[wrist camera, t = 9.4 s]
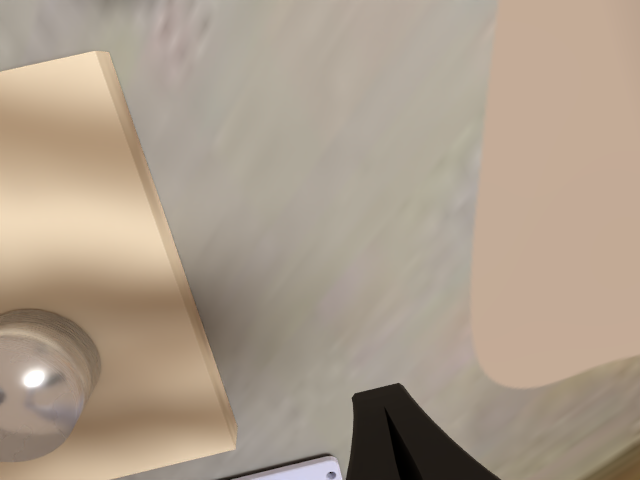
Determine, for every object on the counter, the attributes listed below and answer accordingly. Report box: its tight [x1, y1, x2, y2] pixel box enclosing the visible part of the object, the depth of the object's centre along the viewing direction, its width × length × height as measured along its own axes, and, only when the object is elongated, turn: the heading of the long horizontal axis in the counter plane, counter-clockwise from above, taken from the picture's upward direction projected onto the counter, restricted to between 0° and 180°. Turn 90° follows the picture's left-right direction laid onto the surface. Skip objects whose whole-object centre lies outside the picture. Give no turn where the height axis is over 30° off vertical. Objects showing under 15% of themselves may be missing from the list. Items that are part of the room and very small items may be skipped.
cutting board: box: [0, 51, 237, 480], centre depth 20 cm, size 18×15×2 cm
